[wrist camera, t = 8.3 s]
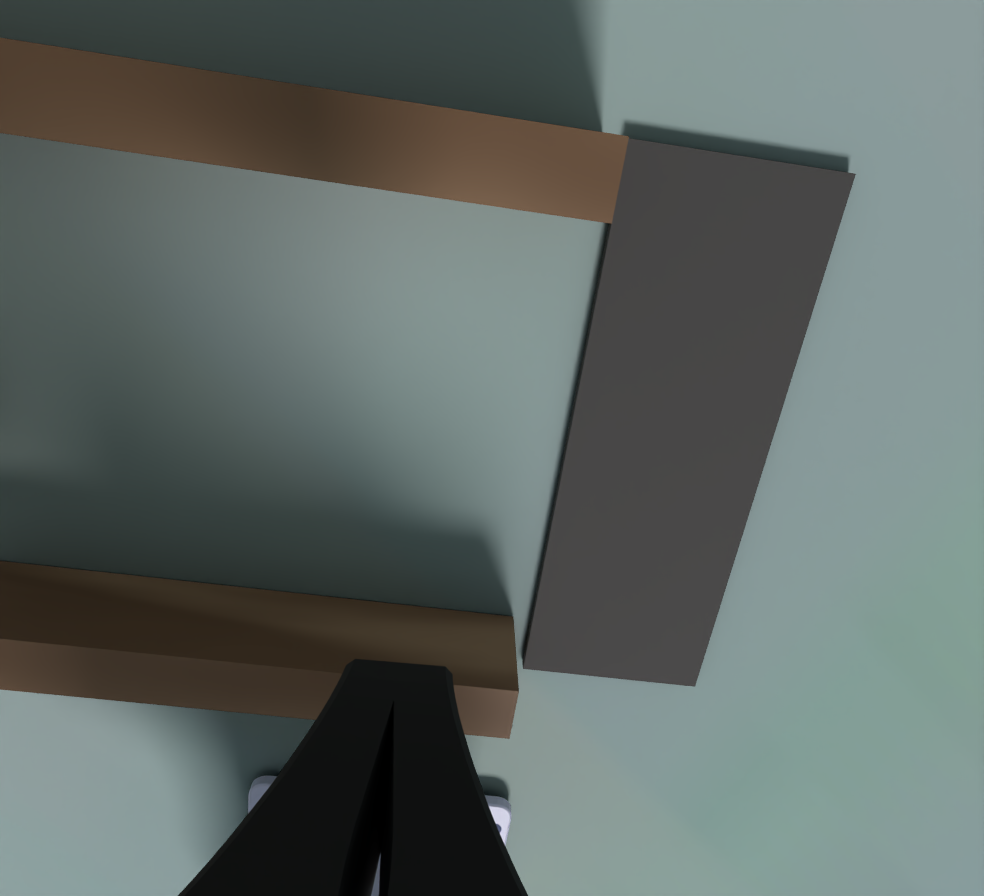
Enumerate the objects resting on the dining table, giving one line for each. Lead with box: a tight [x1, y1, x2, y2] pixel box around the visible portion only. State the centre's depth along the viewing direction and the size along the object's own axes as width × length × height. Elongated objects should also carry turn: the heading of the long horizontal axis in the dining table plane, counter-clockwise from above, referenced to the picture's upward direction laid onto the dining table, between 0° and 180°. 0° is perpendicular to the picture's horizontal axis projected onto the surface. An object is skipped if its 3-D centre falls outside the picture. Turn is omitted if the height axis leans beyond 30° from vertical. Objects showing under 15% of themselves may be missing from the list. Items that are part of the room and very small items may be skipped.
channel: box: [0, 38, 629, 739], centre depth 17 cm, size 14×14×3 cm
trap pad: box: [523, 138, 856, 686], centre depth 19 cm, size 14×5×1 cm, turn 172°
